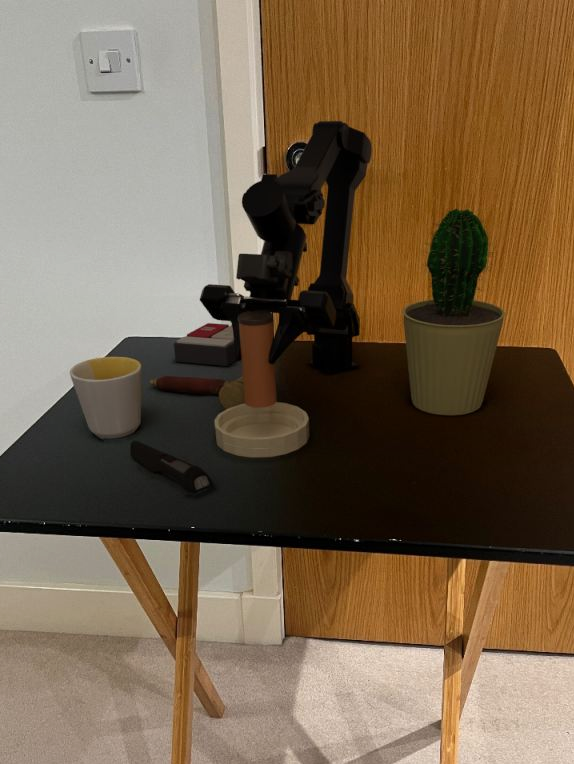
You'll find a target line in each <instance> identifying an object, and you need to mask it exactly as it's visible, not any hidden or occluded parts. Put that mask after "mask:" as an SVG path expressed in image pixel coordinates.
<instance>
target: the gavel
mask: <svg viewBox="0 0 574 764" xmlns="http://www.w3.org/2000/svg"><path fill="white" fill-rule="evenodd" d="M149 385H151V386H155V387H156V388H158V389H160V390H162V391H164V392H177V393H178V392H179V393H191V394H206V395H218V400H219V402H220V405H221V406H222V408H224V409H225V410H226V409H228V408H231V407H234V406H238V405H241V404H245V401H244V387H243V374H242V375H241V376H240V377H239V378H237V379H235V380H226V379H221V378H208V377H193V376H191V377H189V376H174V375H164V376H160V377H157V378H155V379H151V380H150V381H149Z"/></svg>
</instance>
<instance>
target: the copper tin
mask: <svg viewBox="0 0 574 764" xmlns="http://www.w3.org/2000/svg"><path fill="white" fill-rule="evenodd" d="M238 322H239V331H240V345H241V371H242V375H243V387H244V401H245V404H246V405H247V406H250V407H255V408H263V407H269V406H272V405H274V404H275V403H276V402H278V401H277V400H278V399H277V381H276V364H275V363H276V362H275V363H274V364H270V363H269V361H268V360H269V354H270V349H271V346H272V343H273V340H274V313H270V312H267V311H248V312H244V313H241V314H239V315H238Z"/></svg>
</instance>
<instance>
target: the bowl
mask: <svg viewBox="0 0 574 764" xmlns="http://www.w3.org/2000/svg"><path fill="white" fill-rule="evenodd" d="M213 422H214V423H213V424H214V434H215V442H216V445H217V447H218V448H220V449H221V450H222V451H223V452H226V453H228V454H230V455H231V454H232V455H234V456H238V457H243V458H253V459H254V458H257V459H258V458H274V457H278V456H285V455H287V454H290V453H293V452H295V451H298V450H299V449H301V448H302V447H303V446H305V445H307V443H308V441H309V439H310V418H309V415H308V413H307V411H306V410H303V409H302V408H301V407H299V406H297V405H293V404H290V403H287V402H278V401H276V403H275V404H274V405H272V406H269V407H263V408H255V407H250V406H247V405H246V404H241V405H238V406H234V407H231V408H228V409H225V410H223V411H221V412H219V413H218V414H217V416H216V417H215V419H214V420H213Z"/></svg>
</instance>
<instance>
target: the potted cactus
mask: <svg viewBox="0 0 574 764" xmlns="http://www.w3.org/2000/svg"><path fill="white" fill-rule="evenodd" d="M474 207H475V205H474ZM450 209H451V210H448V208H446V210H447V213H446V212H444V213H445V214H444V213H442V215H443V216H444V217H442V220H441V221H438V222H435V221H432V225H433V226H435V227H437V229H436V230H435V231H434V230H432V231H430V233H431V235H432V240H431V242H427V241H426V242H423V244H425V245H426V246H429V251H428V252H427V251H425V250H423V252H424V253H426V254H428V255H426V254H424V256H425V257H427V260H426V263H423V267H425V268H426V269H425V271H427V270H428V271H427V272H426V274H427V273H428V275H426V277H429V279H428V278H427V280H428V281H429V280H430V281H431V282H430V283H431V284H430V285H428V286H427V287H426V289H428V288H431V294H430V295H429V297H432V299H426V300H421V301H416V302H413V303H410V304H408V305H406V306H405V307H404V308H402V311H401V312H402V315H403V330H404V337H405V339H404V340H405V348H406V357H407V368H408V369H407V370H408V378H409V387H410V398H411V403H412V405H413V406H414V407H415V408H416V409H418V410H420V411H422V412H425V413H428V414H433V415H439V416H461V415H467V414H470V413H474V412H475V411H477V410H479V409H480V408H481V407H482V404H483V402H484V398H485V394H486V391H487V388H488V387H487V386H488V383H489V379H490V374H491V372H492V371H491V370H492V367H493V363H494V358H495V355H496V352H497V348H498V343H499V340H500V335H501V332H502V328H503V325H504V318H505V315H506V312H505V310H504V309H503V308H501V307H500V306H497V305H495V304H493V303H489V302H485V301H481V300H477V298H476V299H475V297H476V292H477V290H478V291H479V293H481V292H483V291H484V290H482V289H480V288H479V286H478V281H480V282H482V280H483V279H481V278H483V276H482V275H481V273H483V274H484V275H485V273H486V272H487V273H489V272H491V270H489V268H490V269H491V267H490V266H488V265H487V264H488V258H494V255H493V254H494V253H495V252H494V251H490V249H489V246H490V247H491V246H492V247H493V244H494V242H491V243H489V238H491V236H489V235H490V234H491V233H492V231H493V230H491V231H490V232H489V233H487V230H485V229H486V227H487V225H488V224H486V225H485V227H484V218H481V219H480V218H479V215H480V213H481V211H479V213H478V214H477V215H475V214H474V213H475V209H474V208H473V209H472V211H471V210H470V209H469V206H468V208H465V209H462V208H461V209H459V207H457V208H453V205H451V206H450ZM490 229H491V228H489V229H488V230H490ZM490 264H491V265H493V263H491V262H490ZM486 269H487V270H488V271H486V272H485V270H486ZM487 273H486V274H487ZM429 274H430V276H429ZM430 277H431V278H430ZM479 278H480V279H479ZM427 280H426V281H427Z"/></svg>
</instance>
